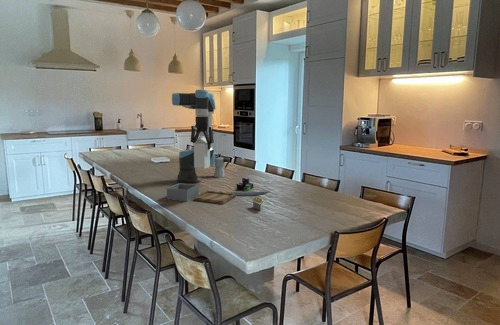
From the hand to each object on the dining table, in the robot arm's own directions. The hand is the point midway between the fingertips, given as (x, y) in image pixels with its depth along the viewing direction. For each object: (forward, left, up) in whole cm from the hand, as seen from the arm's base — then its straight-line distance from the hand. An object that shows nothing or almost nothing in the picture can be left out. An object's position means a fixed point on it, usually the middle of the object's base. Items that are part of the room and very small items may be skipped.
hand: (202, 154), depth 214 cm
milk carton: (0, 0, -8) cm, 8 cm away
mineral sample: (+15, +32, -28) cm, 45 cm away
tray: (+7, +3, -27) cm, 28 cm away
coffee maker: (-18, +63, -28) cm, 71 cm away
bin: (-12, -3, -27) cm, 30 cm away
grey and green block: (+39, -6, -28) cm, 48 cm away
